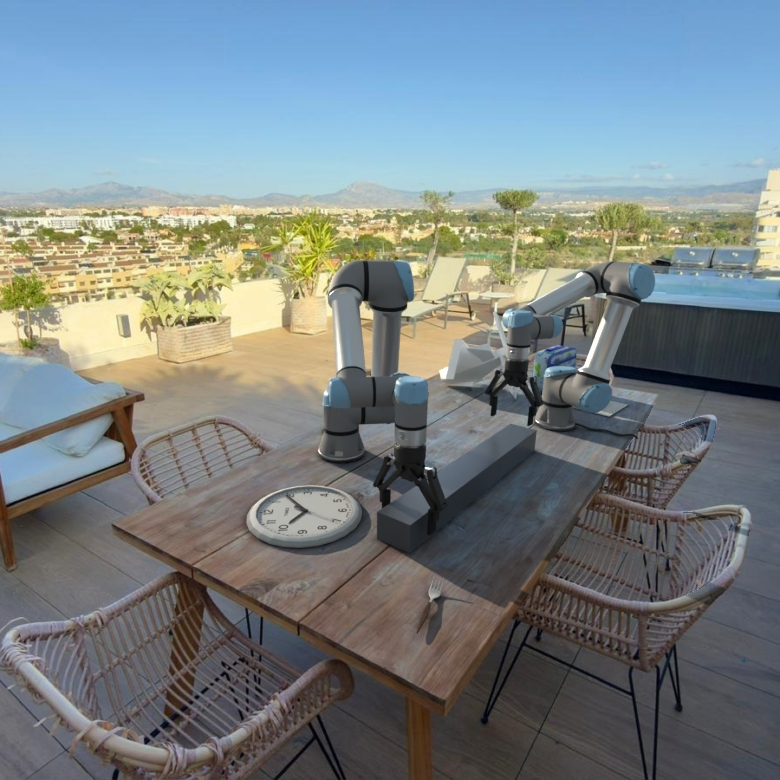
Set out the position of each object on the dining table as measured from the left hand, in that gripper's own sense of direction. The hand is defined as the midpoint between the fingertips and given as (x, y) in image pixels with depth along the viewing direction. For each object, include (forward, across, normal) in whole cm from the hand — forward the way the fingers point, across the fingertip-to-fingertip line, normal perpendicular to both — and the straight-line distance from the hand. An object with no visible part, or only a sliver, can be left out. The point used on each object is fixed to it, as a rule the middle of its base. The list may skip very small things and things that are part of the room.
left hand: (408, 523), depth 128 cm
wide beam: (+3, 0, +32) cm, 32 cm away
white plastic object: (+2, -42, +118) cm, 125 cm away
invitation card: (+2, +9, +133) cm, 134 cm away
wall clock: (+3, -27, -9) cm, 28 cm away
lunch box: (+2, -16, +143) cm, 144 cm away
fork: (+4, +18, -19) cm, 26 cm away
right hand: (-9, -2, +64) cm, 65 cm away
